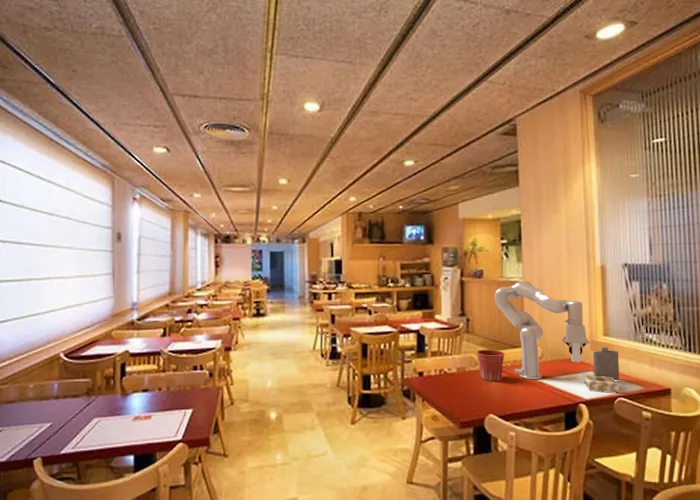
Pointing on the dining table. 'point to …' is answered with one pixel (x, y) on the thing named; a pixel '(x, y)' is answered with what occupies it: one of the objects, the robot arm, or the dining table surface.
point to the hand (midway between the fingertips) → (575, 353)
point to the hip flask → (606, 363)
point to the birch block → (601, 383)
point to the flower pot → (491, 364)
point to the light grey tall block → (575, 352)
